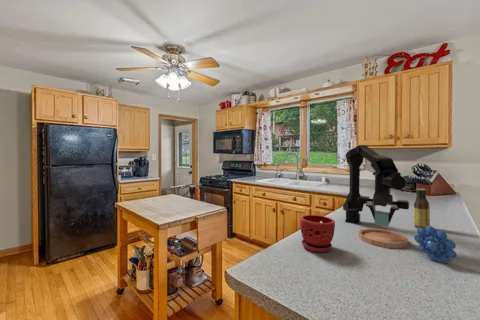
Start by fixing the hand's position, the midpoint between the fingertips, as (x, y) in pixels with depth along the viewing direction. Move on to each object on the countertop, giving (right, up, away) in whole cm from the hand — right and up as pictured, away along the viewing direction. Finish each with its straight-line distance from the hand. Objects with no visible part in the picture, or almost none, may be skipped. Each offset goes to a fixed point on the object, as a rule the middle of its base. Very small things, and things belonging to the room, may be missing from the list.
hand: (382, 221), depth 99 cm
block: (0, -1, 0) cm, 1 cm away
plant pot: (-31, -9, -8) cm, 33 cm away
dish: (0, -8, 0) cm, 8 cm away
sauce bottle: (+30, -8, +16) cm, 35 cm away
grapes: (+5, -9, -20) cm, 22 cm away
